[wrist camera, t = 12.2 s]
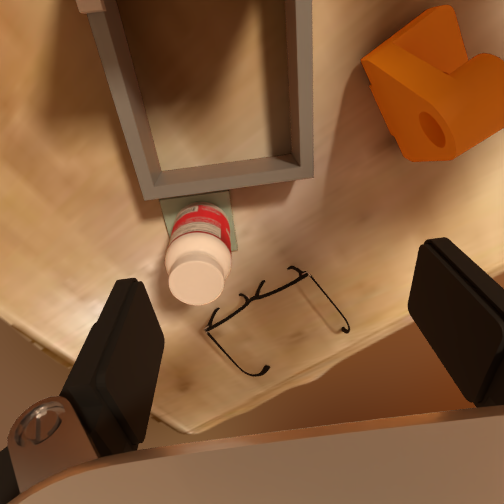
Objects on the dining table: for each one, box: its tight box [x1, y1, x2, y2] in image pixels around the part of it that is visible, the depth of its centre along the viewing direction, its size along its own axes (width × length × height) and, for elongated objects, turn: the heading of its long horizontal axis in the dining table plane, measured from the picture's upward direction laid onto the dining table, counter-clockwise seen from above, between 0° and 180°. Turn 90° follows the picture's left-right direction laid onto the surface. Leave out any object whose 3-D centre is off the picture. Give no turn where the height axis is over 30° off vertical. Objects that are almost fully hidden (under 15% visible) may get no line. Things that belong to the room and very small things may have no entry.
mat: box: [159, 190, 238, 251], centre depth 37 cm, size 8×8×1 cm
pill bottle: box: [165, 202, 232, 305], centre depth 32 cm, size 6×6×11 cm
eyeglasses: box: [204, 266, 350, 376], centre depth 45 cm, size 16×16×4 cm
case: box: [76, 0, 314, 201], centre depth 22 cm, size 21×16×16 cm
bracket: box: [360, 5, 504, 162], centre depth 26 cm, size 11×7×12 cm, turn 36°
